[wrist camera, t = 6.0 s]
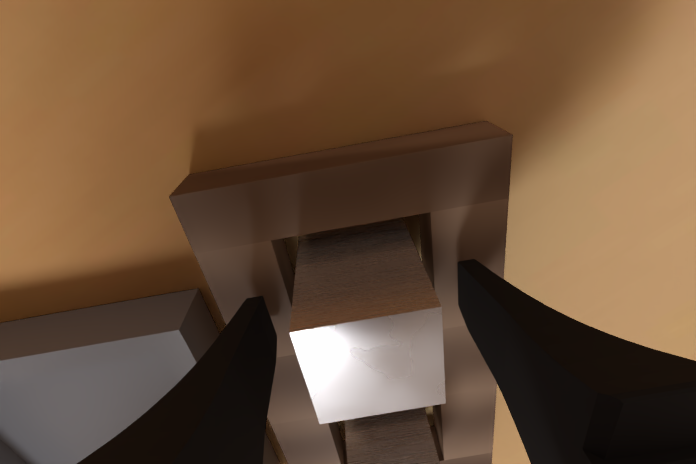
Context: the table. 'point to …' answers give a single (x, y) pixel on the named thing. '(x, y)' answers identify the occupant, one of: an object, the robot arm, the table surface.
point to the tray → (95, 373)
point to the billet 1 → (366, 322)
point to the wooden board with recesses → (349, 210)
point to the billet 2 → (391, 439)
